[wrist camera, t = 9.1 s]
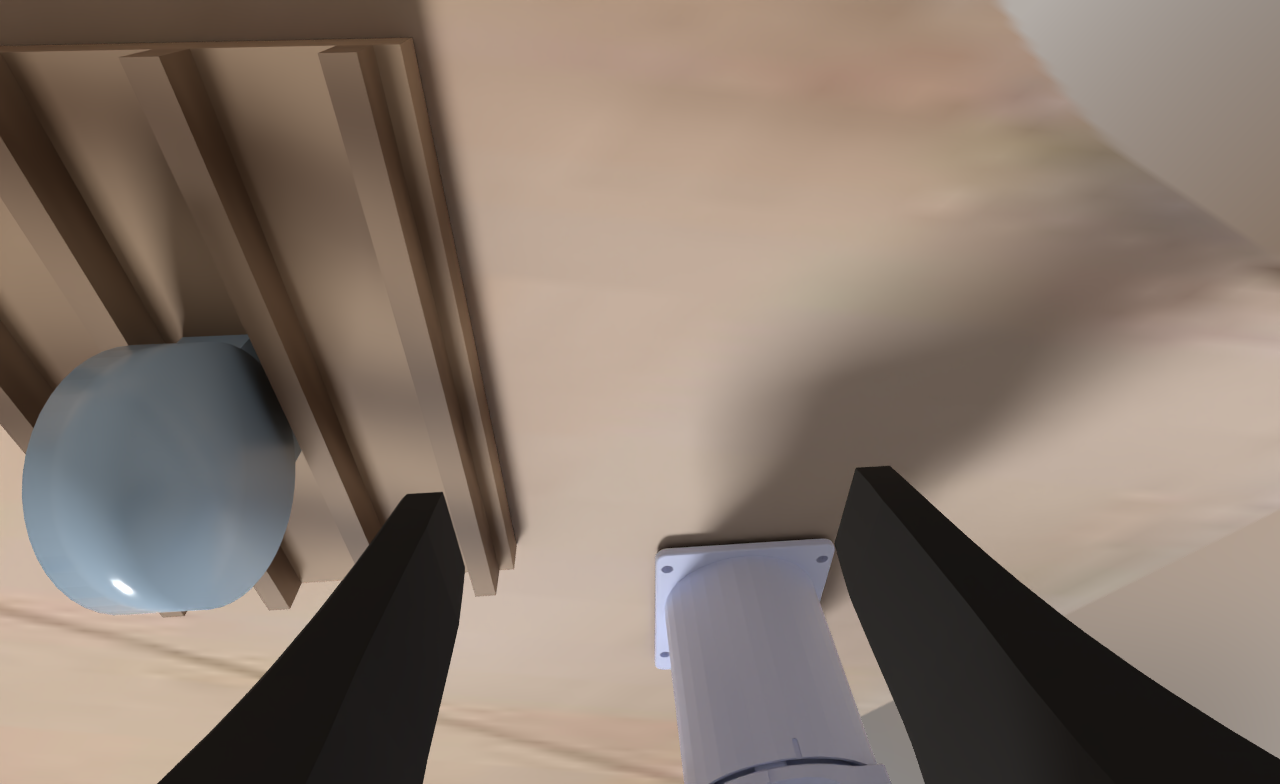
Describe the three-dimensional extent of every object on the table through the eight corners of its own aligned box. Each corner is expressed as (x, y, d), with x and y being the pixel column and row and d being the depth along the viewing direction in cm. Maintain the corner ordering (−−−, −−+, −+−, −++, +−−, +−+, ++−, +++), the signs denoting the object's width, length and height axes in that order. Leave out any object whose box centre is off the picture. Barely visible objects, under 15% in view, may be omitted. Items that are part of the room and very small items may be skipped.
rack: (516, 546, 26) (510, 594, 24) (180, 567, 25) (146, 618, 23) (412, 37, 15) (385, 51, 13) (-206, 50, 14) (-333, 67, 12)
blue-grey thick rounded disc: (317, 473, 21) (218, 665, 15) (258, 477, 21) (138, 671, 15) (234, 294, 17) (59, 468, 11) (161, 297, 17) (-54, 473, 11)
